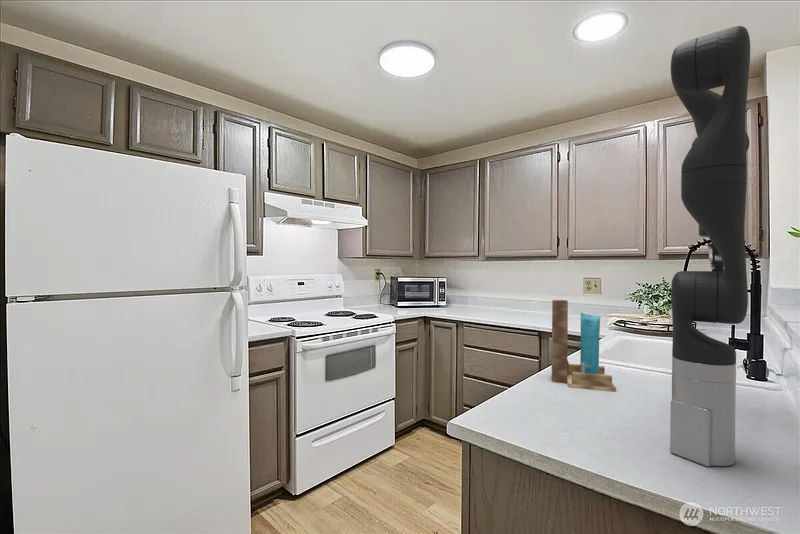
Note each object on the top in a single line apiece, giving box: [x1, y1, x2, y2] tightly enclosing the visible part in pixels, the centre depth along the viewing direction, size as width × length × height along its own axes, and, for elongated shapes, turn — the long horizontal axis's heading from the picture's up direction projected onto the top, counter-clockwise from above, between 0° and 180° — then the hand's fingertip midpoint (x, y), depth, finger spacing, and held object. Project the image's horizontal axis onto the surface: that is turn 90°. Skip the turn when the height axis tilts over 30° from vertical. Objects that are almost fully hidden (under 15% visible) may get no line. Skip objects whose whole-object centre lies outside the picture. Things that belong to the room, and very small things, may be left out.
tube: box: [579, 312, 601, 374], centre depth 116 cm, size 7×5×19 cm, turn 24°
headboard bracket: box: [551, 299, 617, 392], centre depth 117 cm, size 16×12×24 cm
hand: (718, 284), depth 94 cm, fingers open, 8 cm apart
